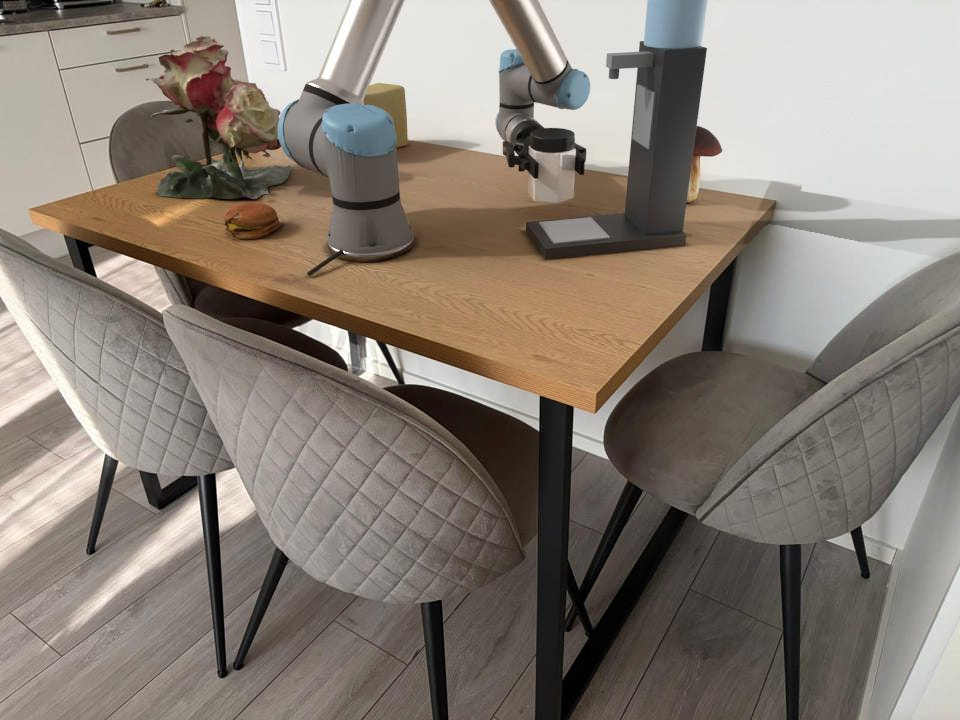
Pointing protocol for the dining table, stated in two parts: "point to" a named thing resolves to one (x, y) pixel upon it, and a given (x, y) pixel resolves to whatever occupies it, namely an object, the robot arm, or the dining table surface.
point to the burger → (251, 220)
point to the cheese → (390, 106)
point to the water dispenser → (647, 142)
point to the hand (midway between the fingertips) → (559, 169)
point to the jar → (552, 165)
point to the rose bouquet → (218, 125)
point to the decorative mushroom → (705, 147)
